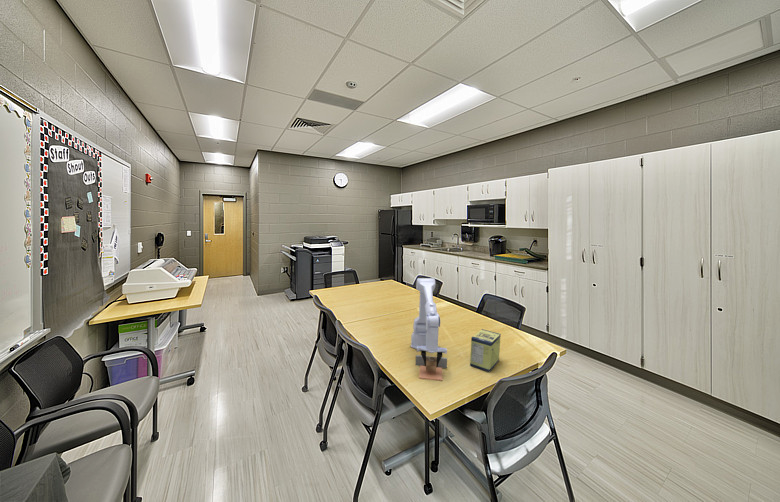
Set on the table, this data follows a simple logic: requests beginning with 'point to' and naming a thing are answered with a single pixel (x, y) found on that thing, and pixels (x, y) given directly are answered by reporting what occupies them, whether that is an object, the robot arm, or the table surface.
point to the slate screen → (420, 359)
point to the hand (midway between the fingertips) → (431, 365)
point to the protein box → (485, 350)
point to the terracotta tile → (430, 374)
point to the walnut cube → (431, 363)
